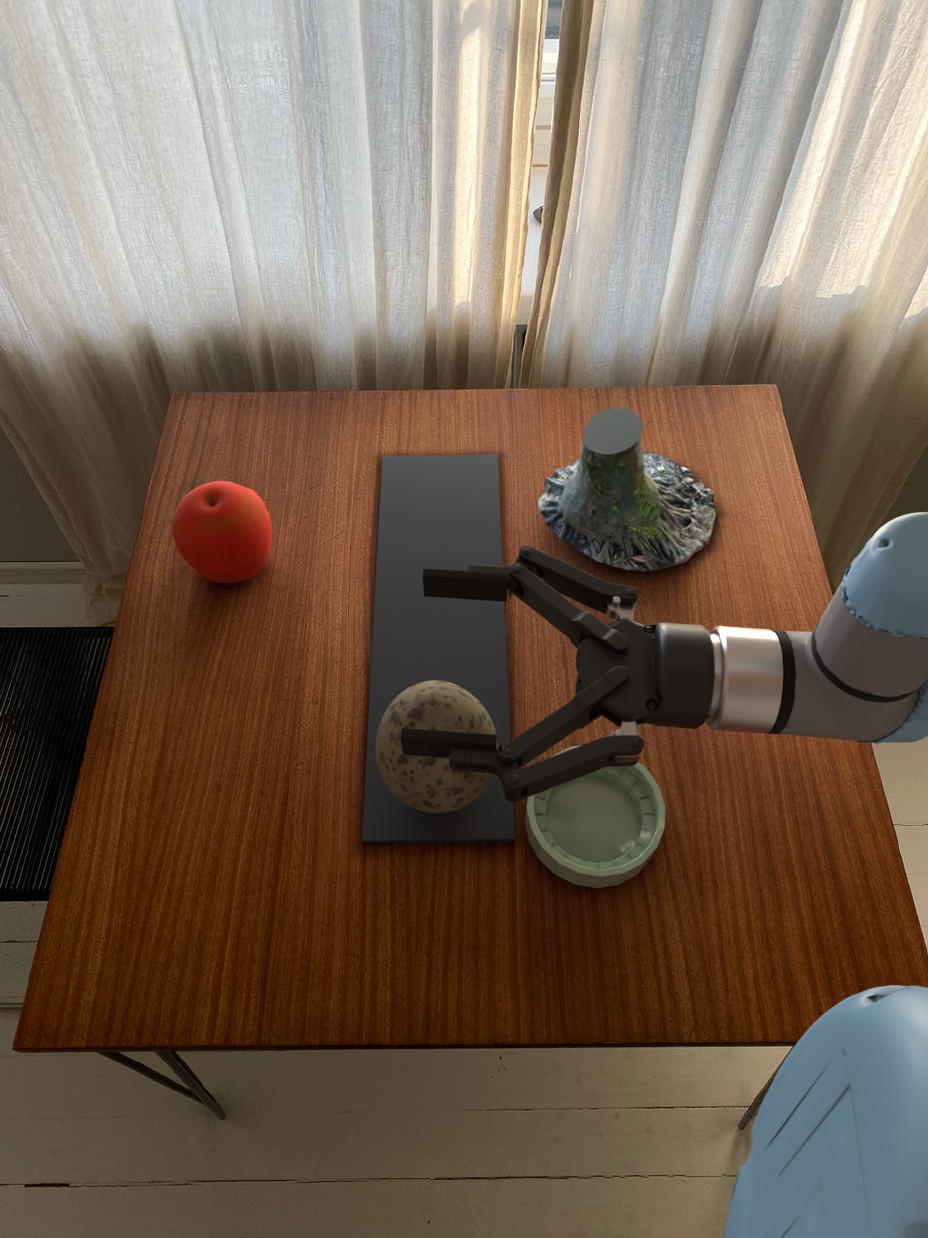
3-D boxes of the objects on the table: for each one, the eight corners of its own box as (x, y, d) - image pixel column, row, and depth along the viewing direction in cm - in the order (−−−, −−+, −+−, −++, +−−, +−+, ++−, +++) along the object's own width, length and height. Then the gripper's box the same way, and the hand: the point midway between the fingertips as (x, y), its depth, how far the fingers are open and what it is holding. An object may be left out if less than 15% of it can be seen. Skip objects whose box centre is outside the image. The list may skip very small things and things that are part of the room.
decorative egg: (425, 708, 87) (418, 626, 74) (517, 764, 83) (525, 688, 71) (359, 792, 82) (339, 720, 69) (453, 855, 79) (450, 791, 66)
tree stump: (744, 563, 98) (752, 468, 82) (573, 618, 100) (549, 535, 84) (687, 442, 107) (685, 335, 91) (531, 494, 109) (503, 398, 93)
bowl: (598, 918, 76) (604, 906, 73) (497, 823, 81) (498, 807, 78) (684, 823, 81) (693, 807, 77) (583, 738, 86) (588, 720, 82)
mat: (515, 841, 80) (515, 839, 79) (362, 843, 80) (361, 841, 79) (497, 457, 106) (497, 454, 106) (382, 459, 106) (382, 455, 106)
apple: (272, 519, 101) (251, 448, 92) (288, 586, 96) (267, 518, 86) (184, 539, 100) (153, 469, 90) (195, 609, 94) (164, 542, 85)
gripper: (706, 864, 59) (395, 839, 60) (685, 570, 73) (433, 554, 74) (734, 825, 53) (387, 798, 54) (705, 511, 67) (429, 495, 68)
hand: (413, 657), depth 64 cm, fingers open, 13 cm apart
